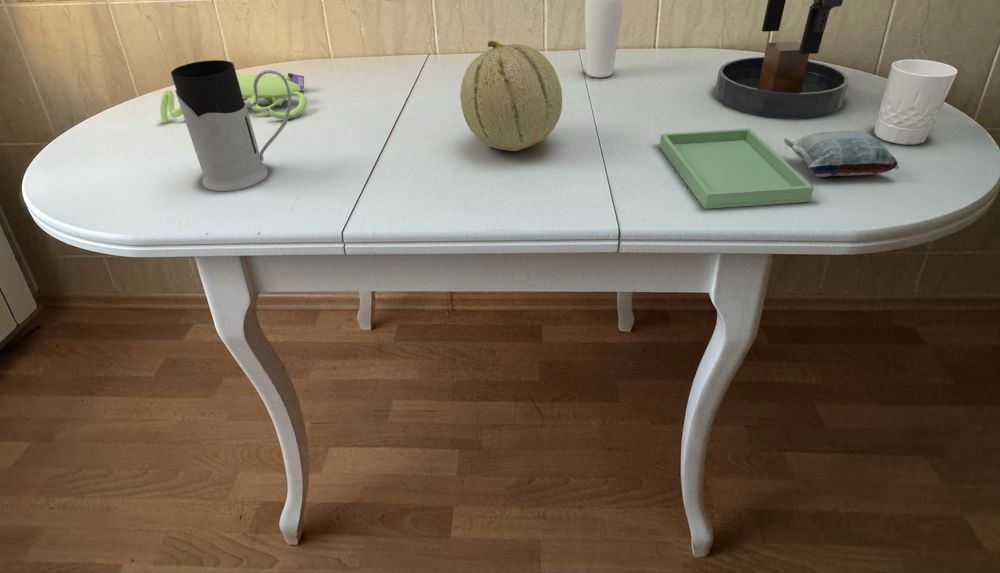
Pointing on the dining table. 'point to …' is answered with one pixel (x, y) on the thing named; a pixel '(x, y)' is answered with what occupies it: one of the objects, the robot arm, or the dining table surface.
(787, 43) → the block
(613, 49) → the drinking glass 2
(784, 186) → the tray
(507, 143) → the cantaloupe
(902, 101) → the white cup
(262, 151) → the glass holder
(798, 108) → the pan
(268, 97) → the green coiled cable
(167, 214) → the dining table surface
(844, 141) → the grey bean bag
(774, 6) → the robot arm
